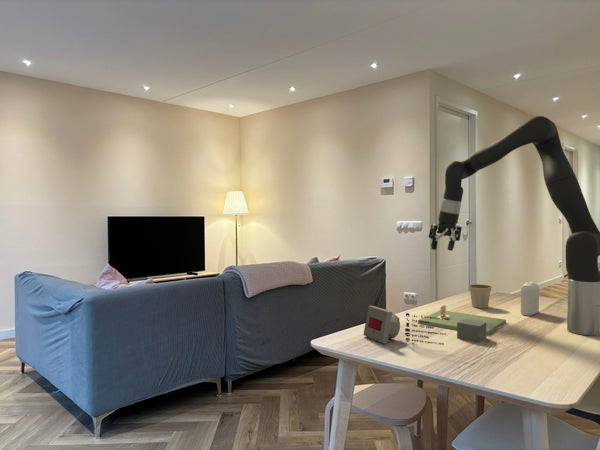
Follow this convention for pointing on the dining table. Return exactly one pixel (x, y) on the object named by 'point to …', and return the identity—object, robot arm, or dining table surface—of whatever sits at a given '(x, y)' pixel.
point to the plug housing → (471, 330)
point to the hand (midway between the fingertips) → (441, 249)
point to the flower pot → (480, 295)
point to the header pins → (442, 311)
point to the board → (456, 317)
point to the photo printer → (529, 298)
